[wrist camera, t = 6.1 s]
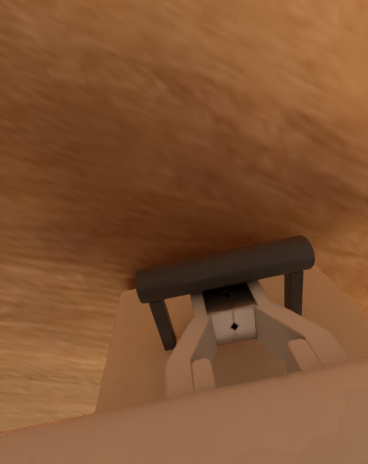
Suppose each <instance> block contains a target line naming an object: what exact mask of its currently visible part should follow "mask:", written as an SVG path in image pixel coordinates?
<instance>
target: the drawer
mask: <svg viewBox="0 0 368 464" xmlns="http://www.w3.org/2000/svg"><path fill="white" fill-rule="evenodd" d="M314 263H315V256H314V251H313V248H312V246H311V244H310V242H309V241H308V239H307V238H306V237H304V236H296V237H291V238H286V239H281V240H277V241H272V242H267V243H263V244H258V245H253V246H248V247H244V248H239V249H234V250H229V251H225V252H220V253H215V254H210V255H206V256H201V257H196V258H191V259H187V260H182V261H177V262H172V263H168V264H163V265H158V266H154V267H149V268H144V269H139V270H137V271H136V273H135V286H136V289H133V290H128V291H124V292H121V297H120V301H119V306H118V311H117V315H116V320H115V324H114V329H113V333H112V338H111V342H110V347H109V351H108V356H107V360H106V365H105V369H104V374H103V378H102V383H101V388H100V392H99V397H98V401H97V406H96V410H95V413H98V412H103V411H108V410H113V409H118V408H122V407H127V406H132V405H137V404H142V403H147V402H152V401H157V400H162V399H165V364H166V362H167V360H168V358H169V357H170V355H171V353H172V351H173V350H174V348H175V346H176V344H177V343H178V341H179V339H180V337H181V336H182V334H183V332H184V330H185V328H186V327H187V325H188V323H189V321H190V320H191V319H194V315H193V309H192V303H191V297H190V294H193V293H198V292H203V291H207V290H212V289H217V288H222V287H227V286H231V285H236V284H241V283H246V282H250V281H255V280H258V281H259V283H260V284H261V286H262V288H263V289H264V291H265V293H266V295H267V296H268V298H269V300H270V301H271V303H272V302H276V303H278V304H279V305H281V306H283V307H285V308H287V309H289V310H291V311H293V312H295V313H296V314H298V315H300V316H302V317H304V318H306V319H308V320H310V321H312V322H313V323H315V324H317V325H319V326H321V327H323V328H325V329H327V330H328V331H330V332H331V333H332V334H333V336H334V337H335V338H336V340H337V341H338V342H339V343H340V345H341V346H342V347H343V349H344V350H345V351H346V352H347V354H348V355H349V356H350V358H351V359H352V360H357V359H362V358H367V357H368V316H367V315H366V314H365V313H364V312H363V311H362V310H361V309H360V308H359V307H358V306H357V305H356V304H355V303H354V302H353V301H352V300H351V299H350V298H349V297H348V296H347V295H346V294H345V293H344V292H343V291H342V290H341V289H340V288H339V287H338V286H336V285H335V284H334V283H333V282H332V281H331V280H330V279H329V278H328V277H327V276H326V275H325V274H324V273H323V272H322V271H321V270H320V269H319V268H318V267H317V266H316V265H315V264H314ZM212 371H213V376H214V380H215V385H216V388H220V387H225V386H230V385H235V384H240V383H245V382H250V381H255V380H260V379H264V378H269V377H274V376H279V375H284V374H287V365H286V364H285V363H284V362H283V361H282V360H281V359H279V358H278V357H277V356H276V355H275V354H273V353H272V352H271V351H270V350H269V349H268V348H266V347H265V346H264V345H263V344H262V343H261V342H259V341H258V340H257V338H256V339H250V340H244V341H239V342H234V343H230V344H225V345H221V346H217V350H216V353H215V356H214V359H213V362H212Z"/></svg>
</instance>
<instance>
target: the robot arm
mask: <svg viewBox="0 0 368 464" xmlns="http://www.w3.org/2000/svg"><path fill="white" fill-rule="evenodd" d="M190 297H191V303H192V309H193V315H194V319H191V320H190V321H189V323H188V325H187V327H186V328H185V330H184V332H183V334H182V336H181V337H180V339H179V341H178V343H177V344H176V346H175V348H174V350H173V351H172V353H171V355H170V357H169V358H168V360H167V362H166V364H165V399H162V400H157V401H152V402H147V403H142V404H137V405H132V406H127V407H122V408H118V409H113V410H108V411H103V412H98V413H93V414H88V415H83V416H78V417H74V418H69V419H64V420H59V421H54V422H49V423H44V424H39V425H34V426H30V427H25V428H20V429H15V430H10V431H5V432H0V464H368V357H367V358H362V359H357V360H352V359H351V358H350V356H349V355H348V354H347V352H346V351H345V350H344V349H343V347H342V346H341V345H340V343H339V342H338V341H337V340H336V338H335V337H334V336H333V334H332V333H331V332H330V331H328V330H327V329H325V328H323V327H321V326H319V325H317V324H315V323H313V322H312V321H310V320H308V319H306V318H304V317H302V316H300V315H298V314H296V313H295V312H293V311H291V310H289V309H287V308H285V307H283V306H281V305H279V304H278V303H276V302H272V303H271V301H270V300H269V298H268V296H267V295H266V293H265V291H264V289H263V288H262V286H261V284H260V283H259V281H258V280H255V281H250V282H246V283H241V284H236V285H231V286H227V287H222V288H217V289H212V290H207V291H203V292H198V293H193V294H190ZM256 338H257V340H258V341H259V342H261V343H262V344H263V345H264V346H265V347H266V348H268V349H269V350H270V351H271V352H272V353H273V354H275V355H276V356H277V357H278V358H279V359H281V360H282V361H283V362H284V363H285V364H286V365H287V374H284V375H279V376H274V377H269V378H264V379H260V380H255V381H250V382H245V383H240V384H235V385H230V386H225V387H220V388H216V385H215V380H214V376H213V371H212V362H213V359H214V356H215V353H216V350H217V346H221V345H225V344H230V343H234V342H239V341H244V340H250V339H256Z"/></svg>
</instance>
